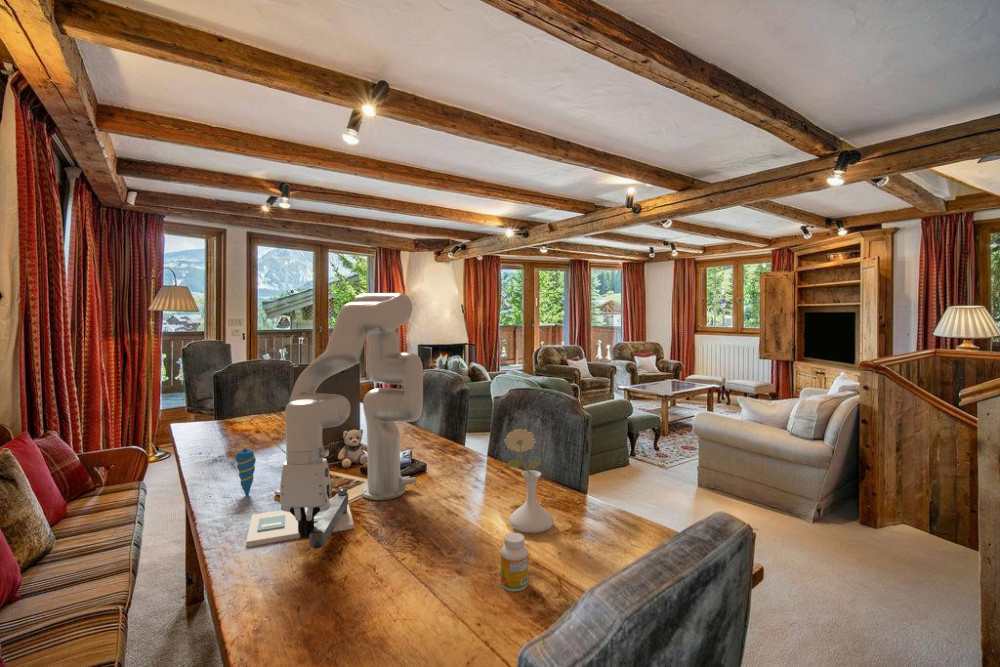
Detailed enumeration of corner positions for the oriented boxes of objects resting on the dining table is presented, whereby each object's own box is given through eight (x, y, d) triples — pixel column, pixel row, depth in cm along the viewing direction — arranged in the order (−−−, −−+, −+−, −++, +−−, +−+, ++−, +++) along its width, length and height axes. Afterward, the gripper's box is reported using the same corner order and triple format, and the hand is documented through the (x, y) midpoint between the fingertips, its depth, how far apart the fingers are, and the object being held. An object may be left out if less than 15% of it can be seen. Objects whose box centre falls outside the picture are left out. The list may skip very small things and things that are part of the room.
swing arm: (337, 510, 128) (337, 487, 127) (349, 509, 128) (349, 487, 128) (309, 557, 103) (308, 530, 103) (323, 556, 103) (322, 529, 103)
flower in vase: (558, 520, 125) (558, 426, 124) (548, 540, 114) (548, 437, 113) (510, 513, 129) (510, 422, 128) (496, 532, 118) (496, 432, 117)
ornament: (247, 499, 139) (246, 448, 138) (232, 497, 140) (231, 447, 139) (260, 492, 144) (259, 443, 143) (245, 491, 145) (244, 442, 144)
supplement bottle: (499, 577, 98) (499, 531, 98) (525, 576, 99) (525, 530, 98) (502, 593, 93) (502, 544, 92) (529, 591, 93) (529, 543, 93)
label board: (347, 504, 135) (347, 498, 135) (353, 528, 120) (353, 521, 120) (252, 519, 126) (252, 512, 125) (246, 546, 111) (246, 539, 111)
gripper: (343, 450, 111) (344, 527, 112) (278, 450, 110) (280, 528, 111) (332, 460, 103) (334, 543, 104) (263, 460, 103) (265, 544, 104)
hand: (306, 535), depth 108 cm, fingers closed
